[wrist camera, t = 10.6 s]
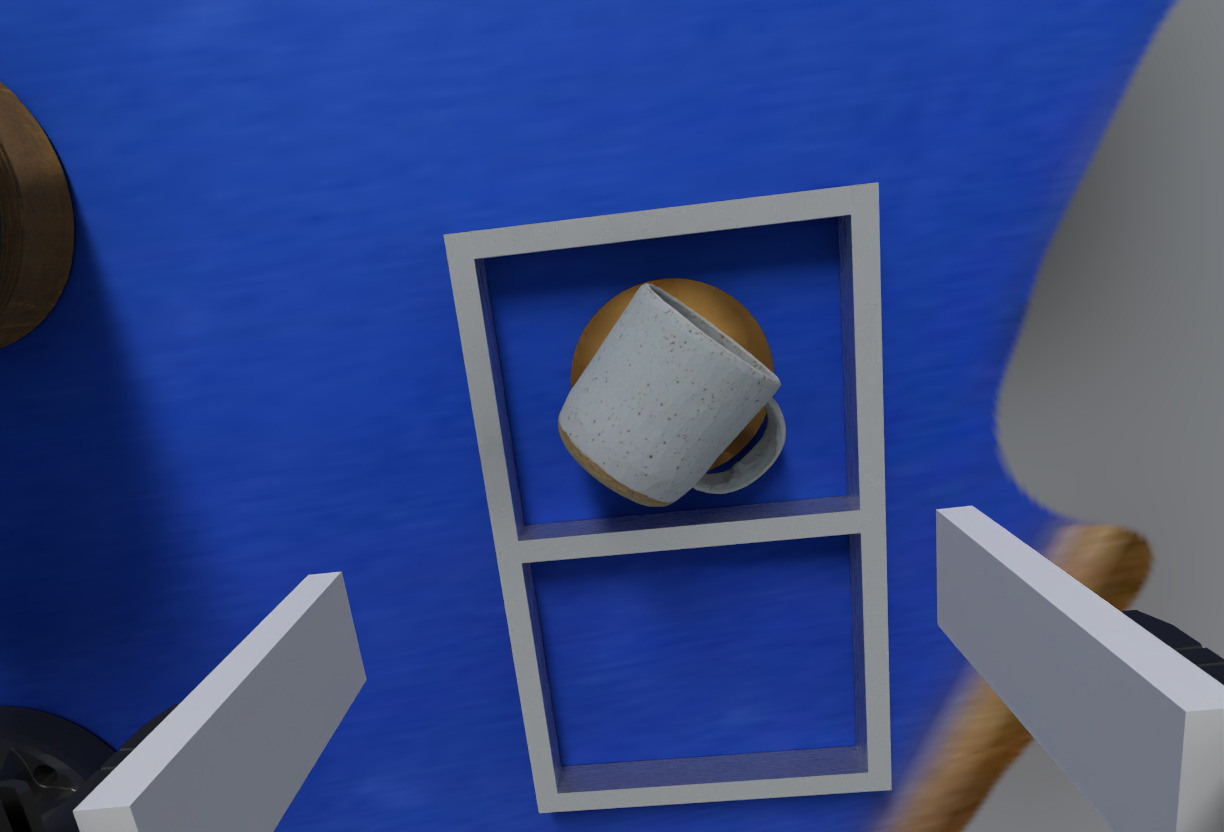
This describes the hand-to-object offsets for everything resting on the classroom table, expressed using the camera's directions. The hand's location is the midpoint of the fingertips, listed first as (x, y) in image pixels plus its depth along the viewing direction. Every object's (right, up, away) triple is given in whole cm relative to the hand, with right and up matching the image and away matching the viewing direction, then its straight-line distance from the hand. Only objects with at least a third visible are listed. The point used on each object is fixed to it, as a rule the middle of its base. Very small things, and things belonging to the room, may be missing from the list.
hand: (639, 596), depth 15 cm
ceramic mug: (+3, +5, +19) cm, 20 cm away
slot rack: (+3, -2, +20) cm, 21 cm away
